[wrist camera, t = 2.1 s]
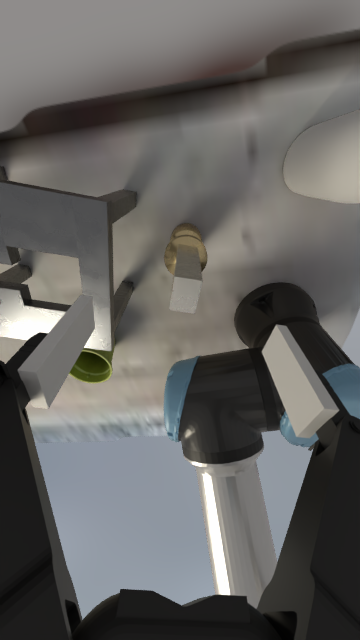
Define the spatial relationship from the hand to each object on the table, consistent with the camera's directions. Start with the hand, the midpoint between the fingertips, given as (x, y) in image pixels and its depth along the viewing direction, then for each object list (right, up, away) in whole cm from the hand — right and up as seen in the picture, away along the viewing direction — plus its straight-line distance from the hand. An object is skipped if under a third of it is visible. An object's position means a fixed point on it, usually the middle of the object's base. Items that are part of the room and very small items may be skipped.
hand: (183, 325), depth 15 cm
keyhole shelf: (-18, +14, +20) cm, 31 cm away
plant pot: (-18, -4, +34) cm, 38 cm away
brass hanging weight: (+1, +14, +20) cm, 24 cm away
